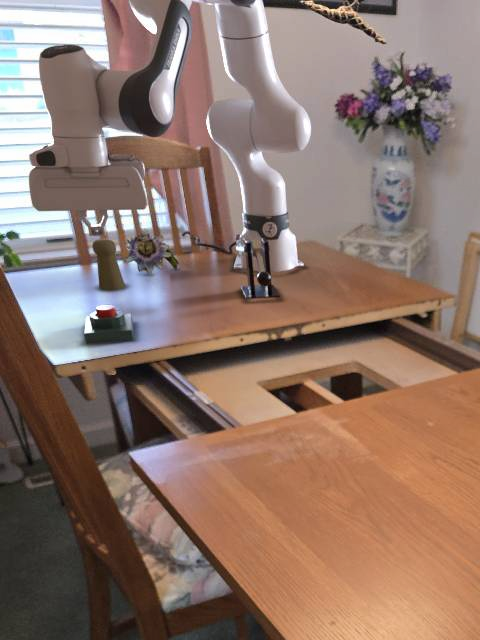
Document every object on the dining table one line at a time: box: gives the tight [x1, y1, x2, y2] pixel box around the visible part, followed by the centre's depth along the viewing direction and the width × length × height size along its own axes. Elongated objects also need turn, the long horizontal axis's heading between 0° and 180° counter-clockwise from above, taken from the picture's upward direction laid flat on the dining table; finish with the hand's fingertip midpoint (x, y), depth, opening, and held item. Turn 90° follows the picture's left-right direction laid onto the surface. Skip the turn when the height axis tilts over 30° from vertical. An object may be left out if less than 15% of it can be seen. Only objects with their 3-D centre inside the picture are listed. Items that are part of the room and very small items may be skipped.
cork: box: [92, 238, 126, 292], centre depth 169 cm, size 6×6×11 cm
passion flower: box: [123, 228, 179, 276], centre depth 184 cm, size 11×11×12 cm
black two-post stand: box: [240, 238, 281, 300], centre depth 167 cm, size 10×8×13 cm
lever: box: [251, 240, 272, 286], centre depth 162 cm, size 13×3×3 cm, turn 19°
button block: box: [83, 309, 135, 345], centre depth 145 cm, size 11×9×4 cm
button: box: [95, 304, 116, 318], centre depth 144 cm, size 4×4×2 cm
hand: (97, 235), depth 136 cm, fingers closed
